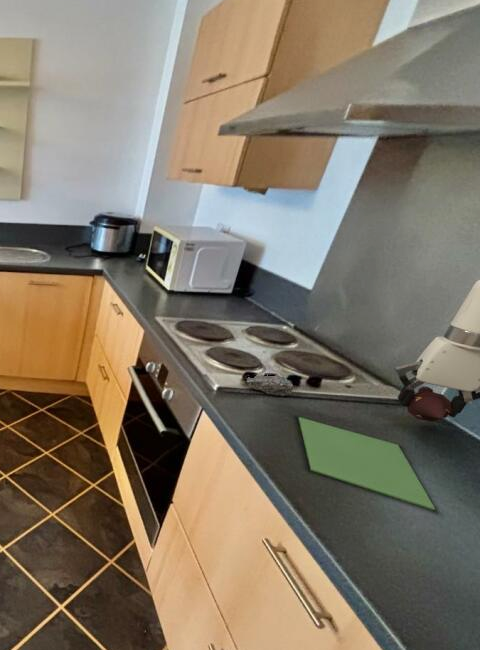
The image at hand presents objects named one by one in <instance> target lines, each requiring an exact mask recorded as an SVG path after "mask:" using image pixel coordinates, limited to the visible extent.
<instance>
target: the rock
mask: <svg viewBox="0 0 480 650" xmlns="http://www.w3.org/2000/svg"><path fill="white" fill-rule="evenodd" d="M257 374H258V375H257V376H255V377H254V378H250V377H248V378H247V377H246V381H245V382H246V384H247V386H248V387H249V388H250V389H251V388H252V389H254V390H257V391H262V392H264V393H266V394H268V395H273V396H280V397H288V396H291V394H292V393H293V389H294V385H293V383H292V381H291V380H289V379H287V378H285V376H281V375H277V374H276V375H275V374H274V375H275V376H268V375H269V374H266V375H267V376H263V374H264V373H257Z"/></svg>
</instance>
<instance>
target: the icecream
mask: <svg viewBox="0 0 480 650" xmlns="http://www.w3.org/2000/svg"><path fill="white" fill-rule="evenodd" d="M451 406H452V404H451V400H450V399H448V397H446V396H445V395H444V394H442V393H438V392H434V389H433V388H431V387H429V386H426V385H425V386H421V387H418V390H417V392H415V393H414V395H413V397H412V398H411V400H410V401H409V403H408V405H407V406H406V410H407V413H409V414H410V415H412V416H413V417H414V418H415V419H417V420H422V421H427V422H436V421H438V420H443V419H446V418H447V417H448V416H449V415H450V414H452V407H451Z"/></svg>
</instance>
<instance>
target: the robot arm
mask: <svg viewBox="0 0 480 650" xmlns="http://www.w3.org/2000/svg"><path fill="white" fill-rule="evenodd" d="M394 370H395V373H396V375H397V377H398V379H399V380H400V382H401V383H402V385H403V387H402V389H401V390H400V392H399V394H398V396H397V400H398V402H399V404H400V405H401V406H403V407H407V405H408V403H409V401H410V400H411V398H412V397H413V395H414V394H416V391H415V389H416V388H419V387H420V386H422V385H424V384H427V385H432V386H436V387H441V388H446V389H452V390H456V391H457V392H458V395H455V396H453V398H452V399H451V400H450V402H451V404H452V406H451V407H452V414H450V415H448V416H449V417H450V418H456V417H457V415H458V414H461V413H462V411H463V410H464V409H465V407H466V405H467V404H470V403H473V401H475V400H479V399H480V279H478V280H477V281H476V282H475V283H474V284H473V286H472V288H471V289H470V290H469V292H468V294H467V295H466V297H465V299H464V301H463V302H462V304H461V306H460V307H459V309H458V311H457V312H456V314H455V316H454V318H453V319H452V321H451V322H450V324H449V326H448V327H447V329H446V331H445V332H444V334H443V335H442V336H436V337H435V338H434V339H433V340H432V341H431V342H429V344H428V345H427V347H426V348H425V349H424V350H423V352H421V354H420V355H419V356H418V358H417V359H416V360H415V362H412V363H408V364H402V365H399V366H396V367H394ZM408 372H410V373H411V374H412V376H411V377H408V376H407V373H408Z"/></svg>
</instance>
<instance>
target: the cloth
mask: <svg viewBox="0 0 480 650" xmlns="http://www.w3.org/2000/svg"><path fill="white" fill-rule="evenodd" d="M298 422H299V426H300V431H301V435H302V439H303V443H304V447H305V451H306V457H307V460H308V464H309V468H310V471H311V472H314V473H316V474H321V475H323V476H326V477H330V478H332V479H335V480H339V481H342V482H345V483H348V484H351V485H354V486H357V487H360V488H363V489H366V490H369V491H373V492H375V493H378V494H381V495H385V496H388V497H390V498H394V499H397V500H399V501H403V502H407V503H409V504H412V505H415V506H419V507H422V508H424V509H427V510H430V511H435V510H436V508H435V506H434V504H433V503H432V501H431V500H430V497H429V496H428V494H427V492H426V490H425V488H424V486H423V485H422V484H421V482H420V480H419V478H418V477H417V475H416V473H415V471H414V470H413V468H412V466H411V464H410V462H409V461H408V459H407V457H406V456H405V454H404V452H403V450H402V449H401V447H400V446H399V444H396V443H392V442H390V441H386V440H383V439H378V438H375V437H371V436H368V435H364V434H362V433H357V432H354V431H351V430H346V429H343V428H339V427H336V426H332V425H328V424H326V423H321V422H318V421H314V420H311V419H307V418H304V417H300V416H299V417H298Z"/></svg>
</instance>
